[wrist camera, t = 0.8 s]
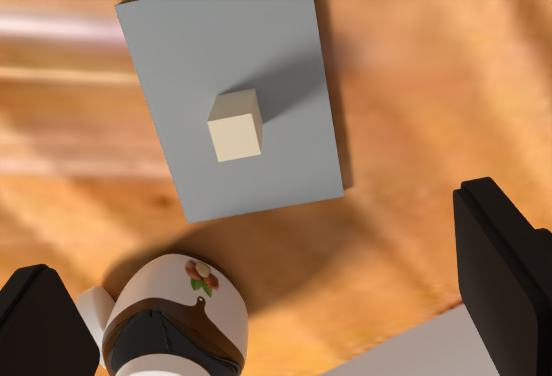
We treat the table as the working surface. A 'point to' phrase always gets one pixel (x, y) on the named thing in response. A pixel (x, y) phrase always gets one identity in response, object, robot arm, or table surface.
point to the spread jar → (170, 321)
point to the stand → (236, 101)
